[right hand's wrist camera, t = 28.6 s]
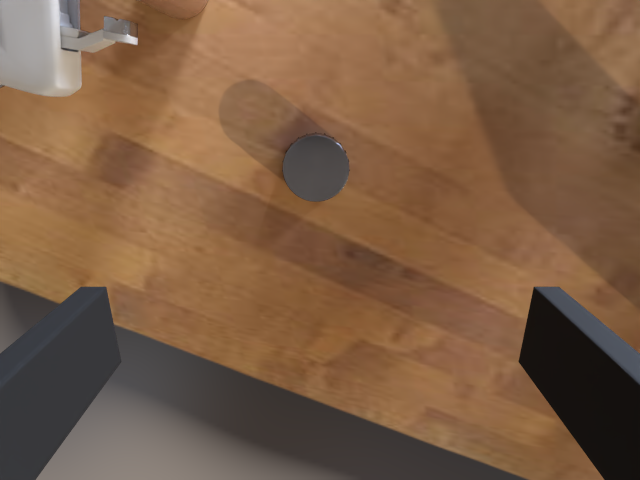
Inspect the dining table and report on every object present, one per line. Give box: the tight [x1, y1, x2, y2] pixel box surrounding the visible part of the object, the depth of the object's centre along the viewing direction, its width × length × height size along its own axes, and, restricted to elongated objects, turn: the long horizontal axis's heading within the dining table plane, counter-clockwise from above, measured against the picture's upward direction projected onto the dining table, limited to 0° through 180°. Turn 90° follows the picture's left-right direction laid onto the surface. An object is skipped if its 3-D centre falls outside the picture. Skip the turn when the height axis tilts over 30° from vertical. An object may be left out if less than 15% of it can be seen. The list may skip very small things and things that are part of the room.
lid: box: [282, 132, 350, 202], centre depth 39 cm, size 6×6×2 cm
